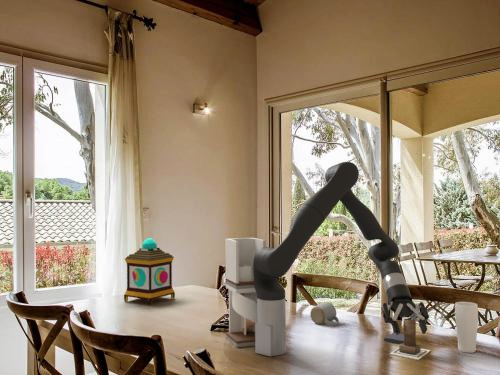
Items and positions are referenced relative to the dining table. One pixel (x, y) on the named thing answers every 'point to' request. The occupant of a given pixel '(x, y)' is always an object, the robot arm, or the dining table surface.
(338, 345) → the dining table surface
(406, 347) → the stamp
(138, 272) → the decorative lantern
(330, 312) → the ceramic mug
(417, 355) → the label card
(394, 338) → the ink pad
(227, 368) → the dining table surface
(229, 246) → the white tiered stand
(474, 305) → the drinking glass
